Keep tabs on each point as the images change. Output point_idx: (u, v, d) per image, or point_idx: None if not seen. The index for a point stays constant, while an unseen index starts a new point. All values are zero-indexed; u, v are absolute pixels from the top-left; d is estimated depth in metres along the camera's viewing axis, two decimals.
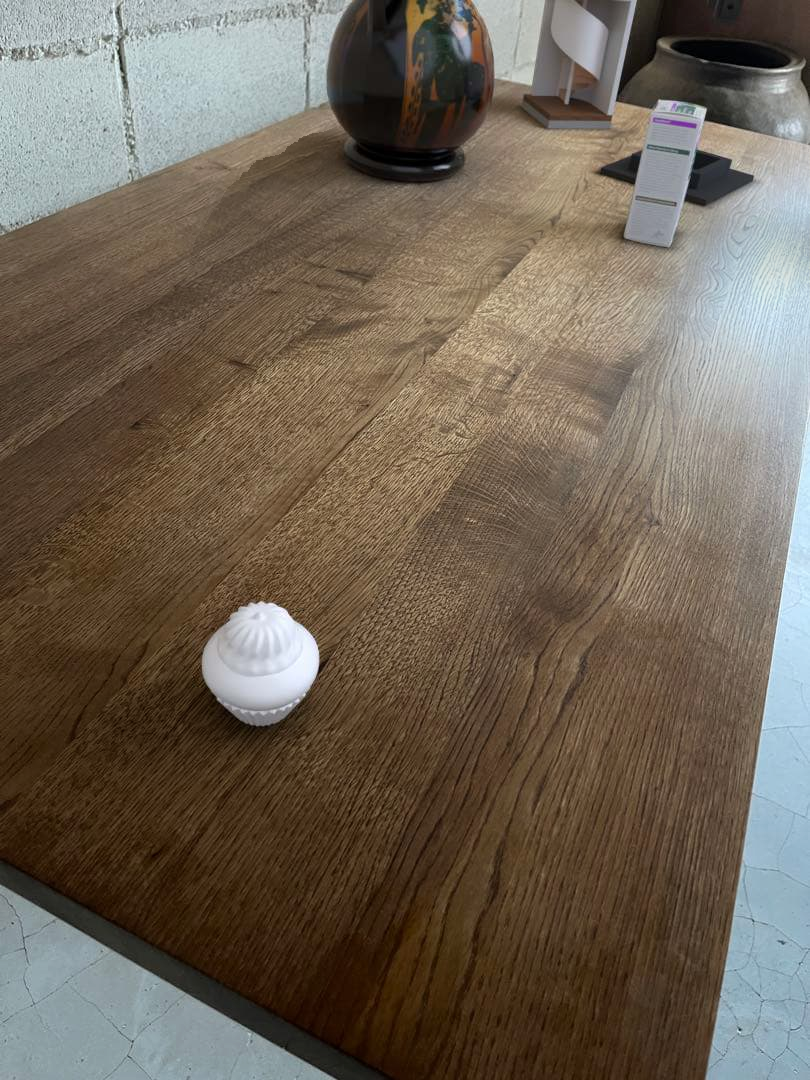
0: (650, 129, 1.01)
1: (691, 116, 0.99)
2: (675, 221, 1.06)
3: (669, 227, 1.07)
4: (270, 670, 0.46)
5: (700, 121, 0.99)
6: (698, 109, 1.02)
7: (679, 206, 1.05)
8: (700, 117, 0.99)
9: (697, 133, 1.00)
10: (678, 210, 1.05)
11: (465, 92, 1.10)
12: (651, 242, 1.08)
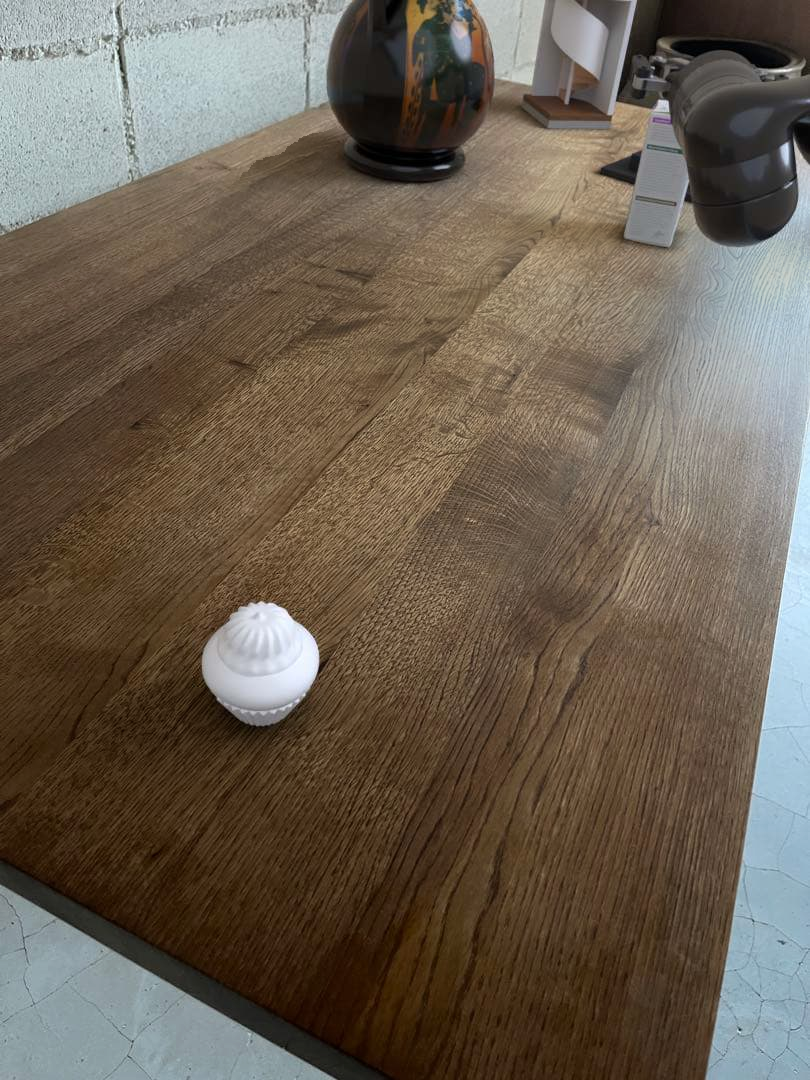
0: (650, 129, 1.01)
1: None
2: (675, 221, 1.06)
3: (669, 227, 1.07)
4: (270, 670, 0.46)
5: None
6: None
7: (679, 206, 1.05)
8: None
9: None
10: (678, 210, 1.05)
11: (465, 92, 1.10)
12: (651, 242, 1.08)
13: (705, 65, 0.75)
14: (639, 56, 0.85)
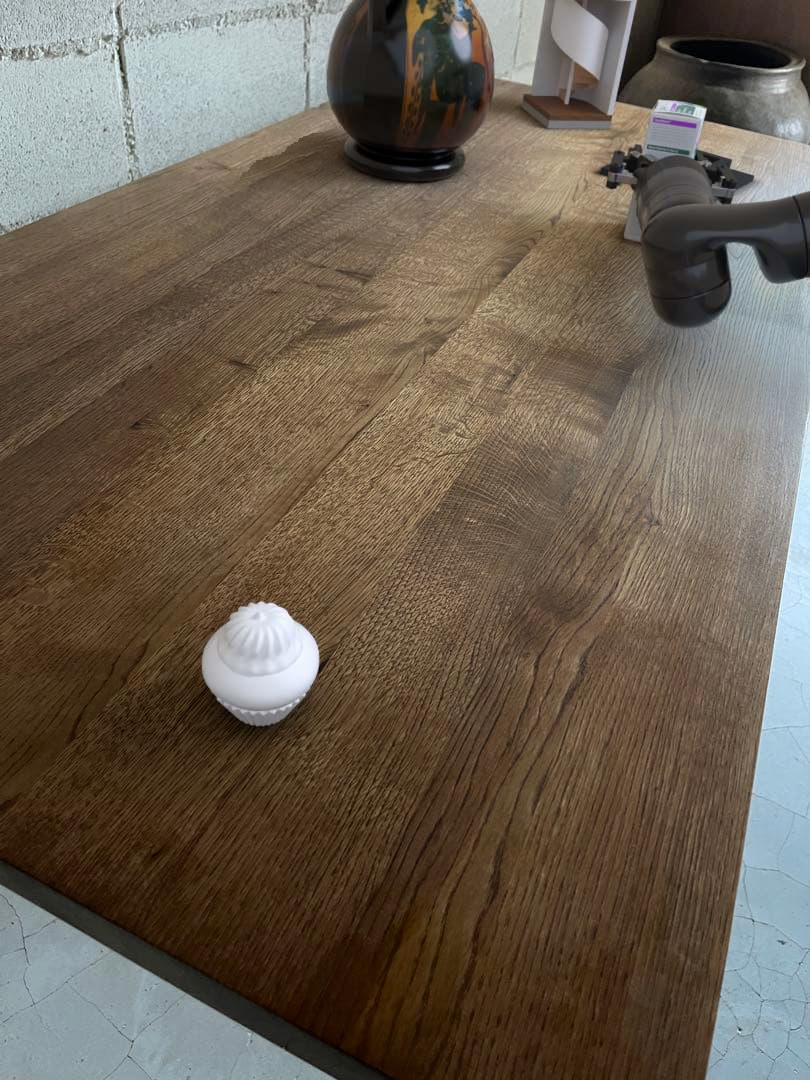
0: (650, 129, 1.01)
1: (691, 116, 0.99)
2: None
3: None
4: (270, 670, 0.46)
5: (700, 121, 0.99)
6: (698, 109, 1.02)
7: None
8: (700, 117, 0.99)
9: (697, 133, 1.00)
10: None
11: (465, 92, 1.10)
12: None
13: (663, 171, 0.92)
14: (619, 152, 1.03)
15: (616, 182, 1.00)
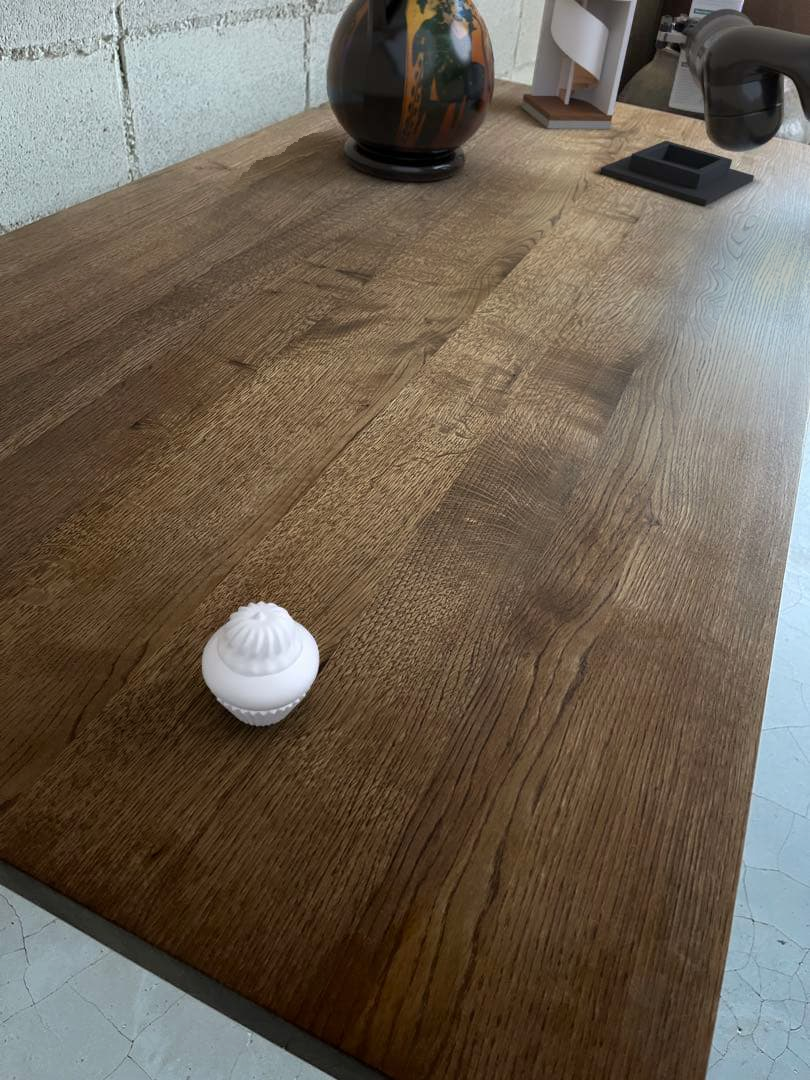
0: None
1: None
2: None
3: None
4: (270, 670, 0.46)
5: None
6: None
7: None
8: None
9: None
10: None
11: (465, 92, 1.10)
12: (695, 109, 1.13)
13: (714, 19, 0.97)
14: (667, 16, 1.08)
15: (665, 41, 1.05)
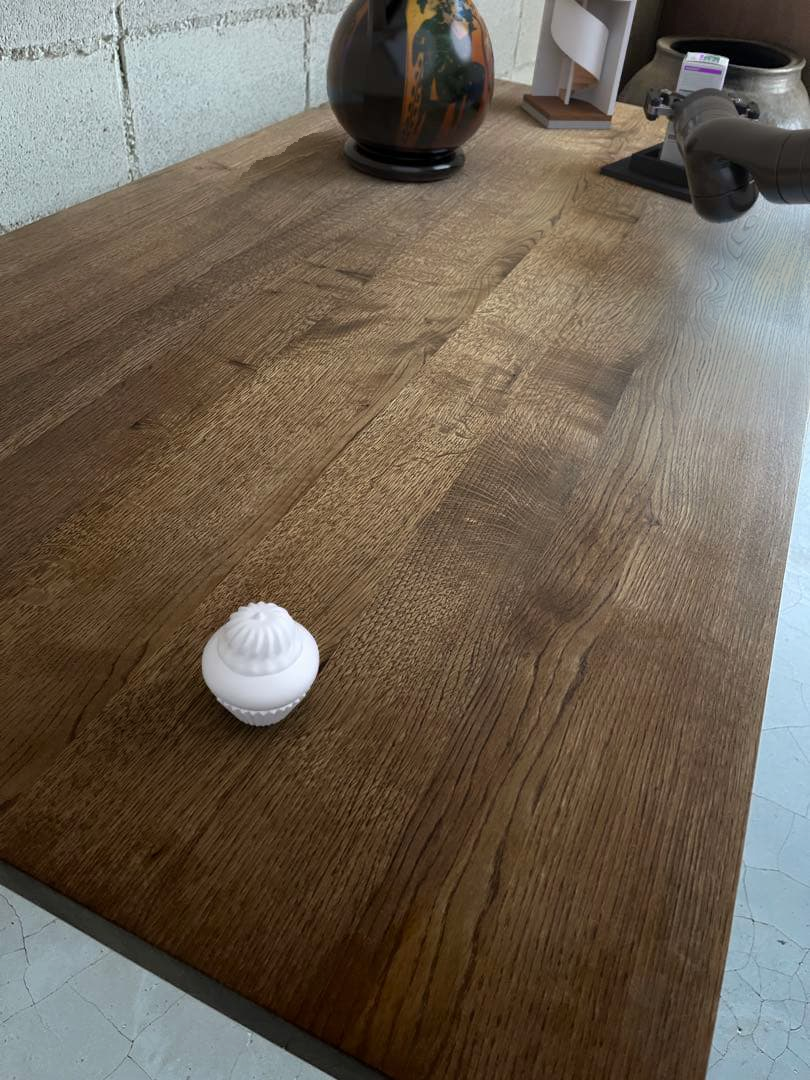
0: (682, 75, 1.19)
1: (717, 64, 1.17)
2: None
3: None
4: (270, 670, 0.46)
5: (725, 68, 1.17)
6: (722, 59, 1.20)
7: None
8: (724, 65, 1.17)
9: (722, 78, 1.18)
10: None
11: (465, 92, 1.10)
12: None
13: (698, 100, 1.10)
14: (652, 89, 1.20)
15: (656, 114, 1.17)
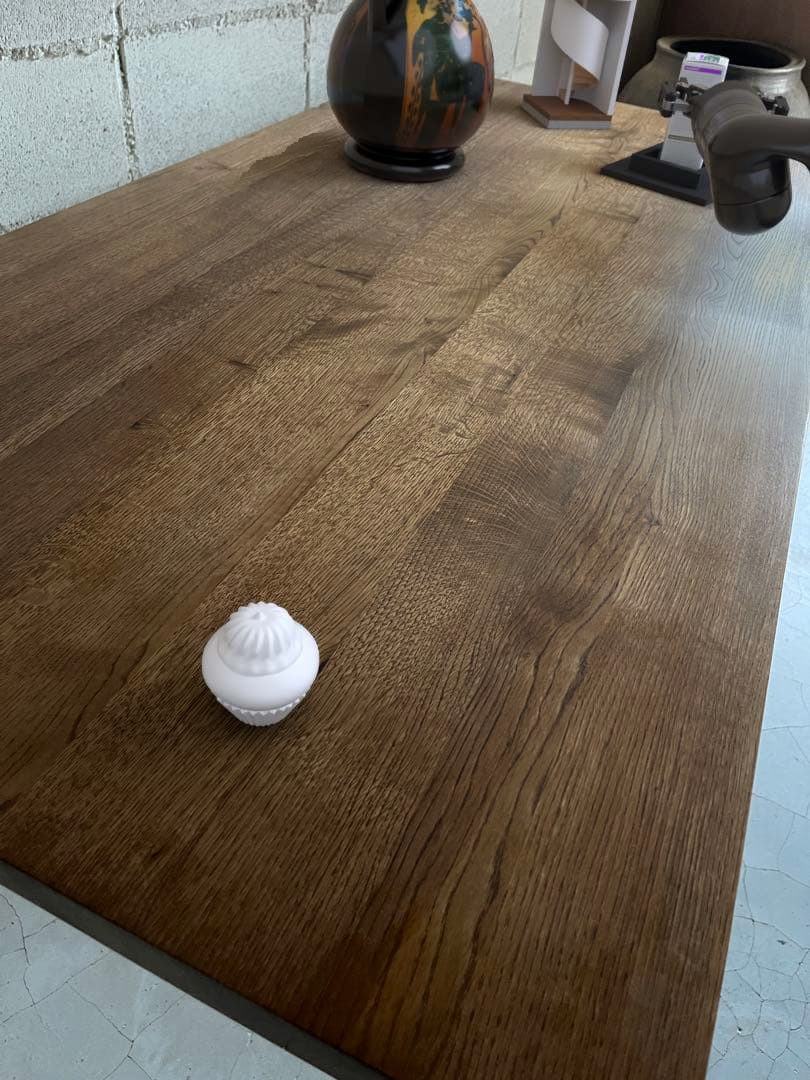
0: (682, 75, 1.19)
1: (717, 64, 1.17)
2: None
3: (697, 162, 1.25)
4: (270, 670, 0.46)
5: (725, 68, 1.17)
6: (722, 59, 1.20)
7: None
8: (724, 65, 1.17)
9: (722, 78, 1.18)
10: None
11: (465, 92, 1.10)
12: None
13: (720, 94, 0.97)
14: (666, 82, 1.07)
15: (672, 111, 1.04)
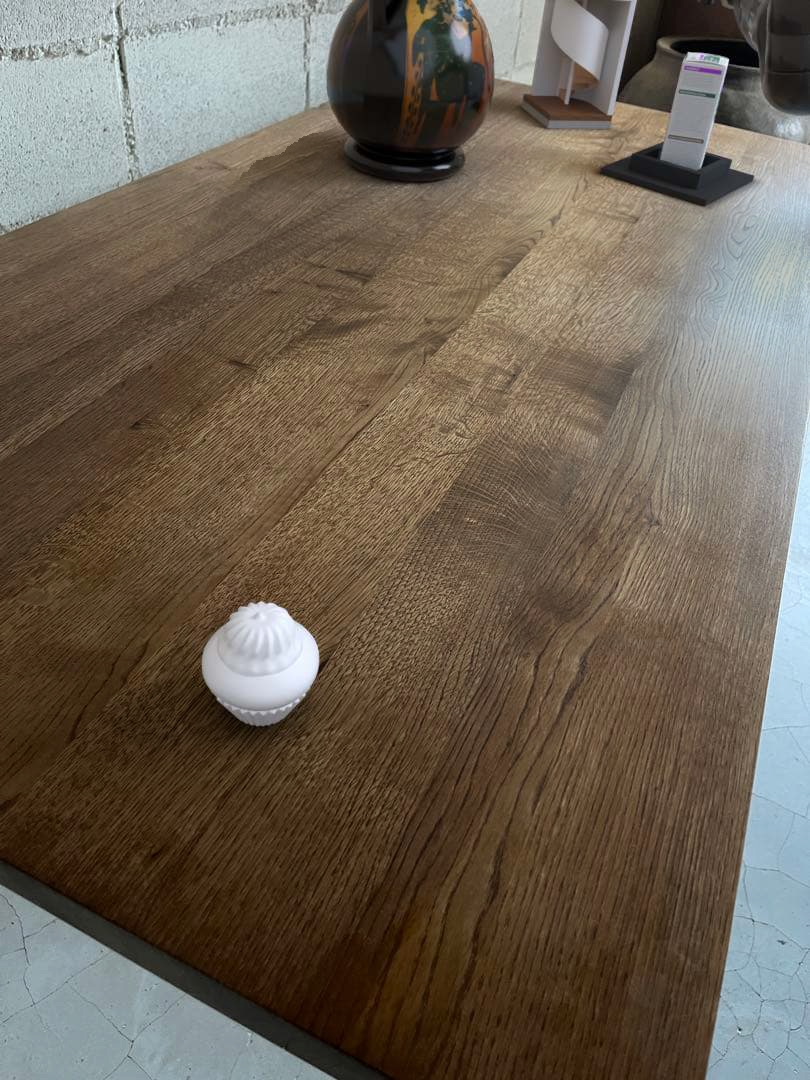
0: (682, 75, 1.19)
1: (717, 64, 1.17)
2: (702, 156, 1.24)
3: (697, 162, 1.25)
4: (270, 670, 0.46)
5: (725, 68, 1.17)
6: (722, 59, 1.20)
7: (705, 143, 1.23)
8: (724, 65, 1.17)
9: (722, 78, 1.18)
10: (705, 147, 1.23)
11: (465, 92, 1.10)
12: None
13: None
14: None
15: None
